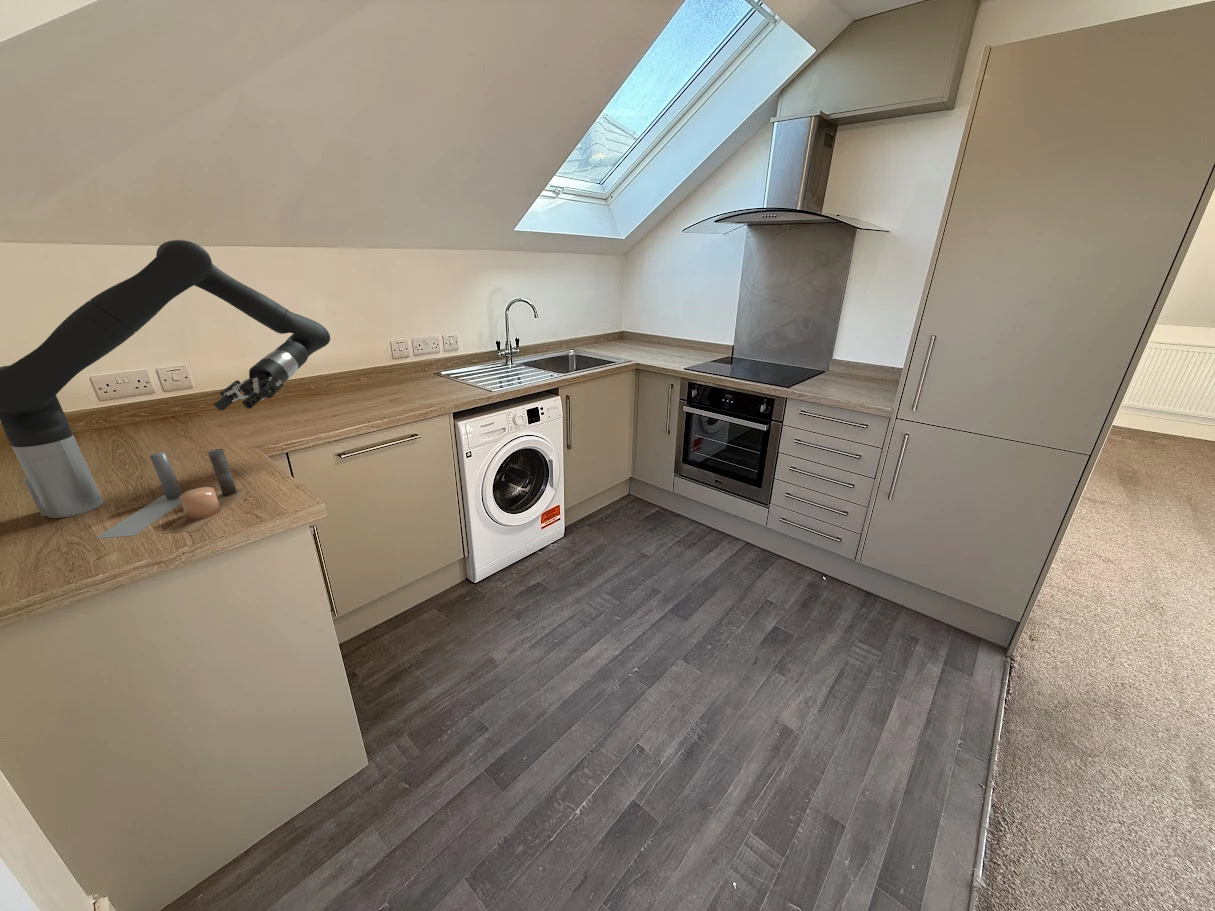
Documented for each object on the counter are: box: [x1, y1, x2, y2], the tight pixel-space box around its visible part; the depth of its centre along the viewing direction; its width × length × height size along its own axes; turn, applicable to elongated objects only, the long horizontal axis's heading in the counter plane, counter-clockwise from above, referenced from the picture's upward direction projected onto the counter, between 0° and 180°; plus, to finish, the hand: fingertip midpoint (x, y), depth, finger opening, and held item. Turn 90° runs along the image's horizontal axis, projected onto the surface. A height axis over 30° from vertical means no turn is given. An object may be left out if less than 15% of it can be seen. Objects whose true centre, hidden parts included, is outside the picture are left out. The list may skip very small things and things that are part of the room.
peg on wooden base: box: [161, 448, 250, 534], centre depth 106 cm, size 7×20×12 cm, turn 9°
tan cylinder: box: [179, 486, 221, 520], centre depth 105 cm, size 6×6×5 cm
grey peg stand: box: [95, 451, 184, 540], centre depth 104 cm, size 7×20×12 cm, turn 9°
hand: (231, 406), depth 115 cm, fingers open, 8 cm apart
